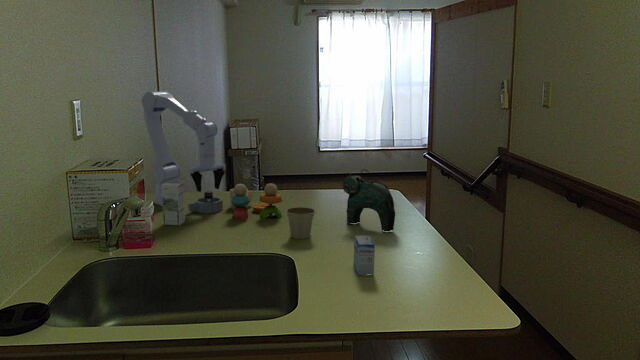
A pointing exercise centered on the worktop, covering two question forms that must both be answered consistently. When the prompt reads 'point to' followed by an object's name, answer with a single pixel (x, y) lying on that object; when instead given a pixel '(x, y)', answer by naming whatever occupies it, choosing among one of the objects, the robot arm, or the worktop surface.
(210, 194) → the plunger
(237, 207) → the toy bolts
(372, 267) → the medicine box
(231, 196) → the beige rounded domed part
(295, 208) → the flower pot
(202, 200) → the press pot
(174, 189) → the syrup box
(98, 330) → the worktop surface
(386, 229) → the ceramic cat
